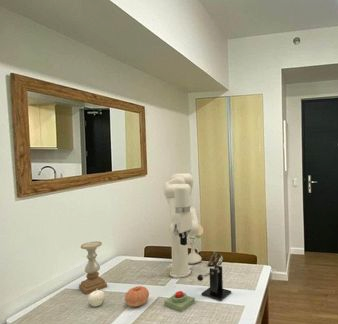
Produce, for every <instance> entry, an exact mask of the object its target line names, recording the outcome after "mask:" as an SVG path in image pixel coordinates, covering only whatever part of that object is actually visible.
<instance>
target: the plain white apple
mask: <svg viewBox="0 0 338 324" xmlns="http://www.w3.org/2000/svg"><path fill="white" fill-rule="evenodd" d="M97 289H98V288H97ZM97 289H96V291H93V292H91V293H89V294H88V297H87V299H88V302H89V304H90V305H91V307H99V306H101V305H102V303H103V302H104V300H105V296H106V295H105V292H104V291H103V290H102V289H100V290H97Z"/></svg>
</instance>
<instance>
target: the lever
mask: <svg viewBox="0 0 338 324" xmlns="http://www.w3.org/2000/svg"><path fill="white" fill-rule="evenodd" d="M215 269H217V270H218V273H219V272H220V270H219V268H218V267H217V268H215ZM208 276H210V272H207V273H206V274H198V275H197V281H199V282H202V281H203V280H204V278H206V277H208Z"/></svg>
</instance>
